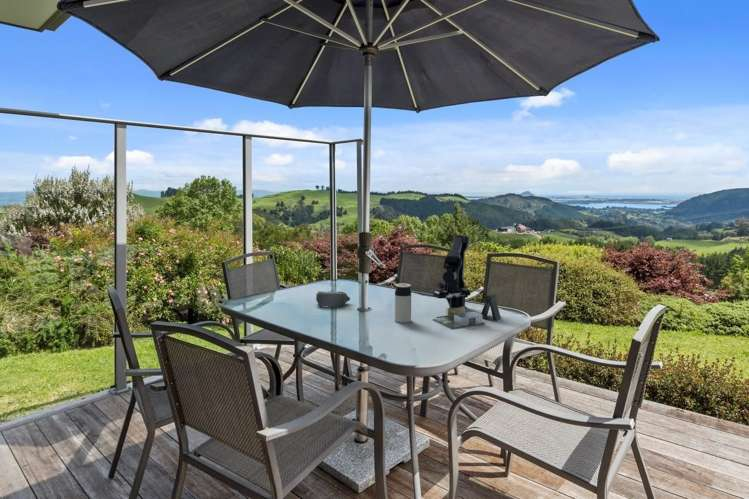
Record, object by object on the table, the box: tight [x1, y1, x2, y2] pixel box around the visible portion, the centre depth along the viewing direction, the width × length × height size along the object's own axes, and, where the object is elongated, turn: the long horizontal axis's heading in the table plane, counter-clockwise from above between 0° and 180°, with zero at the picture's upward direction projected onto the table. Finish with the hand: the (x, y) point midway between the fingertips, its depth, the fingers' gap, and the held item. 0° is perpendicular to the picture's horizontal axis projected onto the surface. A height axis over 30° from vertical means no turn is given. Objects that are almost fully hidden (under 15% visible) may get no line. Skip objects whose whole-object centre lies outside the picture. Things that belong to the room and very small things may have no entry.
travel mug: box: [394, 282, 412, 324], centre depth 212 cm, size 8×8×18 cm
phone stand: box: [480, 293, 502, 322], centre depth 217 cm, size 9×6×12 cm, turn 54°
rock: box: [315, 290, 351, 308], centre depth 243 cm, size 18×11×8 cm, turn 86°
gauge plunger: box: [435, 306, 466, 318], centre depth 213 cm, size 16×8×5 cm, turn 115°
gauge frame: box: [432, 311, 486, 330], centre depth 211 cm, size 19×16×5 cm
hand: (451, 309), depth 220 cm, fingers closed
